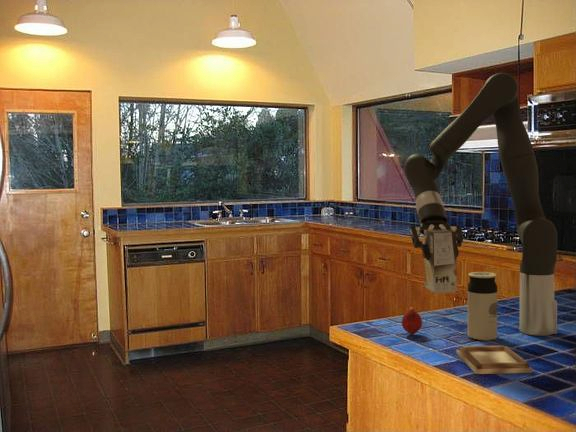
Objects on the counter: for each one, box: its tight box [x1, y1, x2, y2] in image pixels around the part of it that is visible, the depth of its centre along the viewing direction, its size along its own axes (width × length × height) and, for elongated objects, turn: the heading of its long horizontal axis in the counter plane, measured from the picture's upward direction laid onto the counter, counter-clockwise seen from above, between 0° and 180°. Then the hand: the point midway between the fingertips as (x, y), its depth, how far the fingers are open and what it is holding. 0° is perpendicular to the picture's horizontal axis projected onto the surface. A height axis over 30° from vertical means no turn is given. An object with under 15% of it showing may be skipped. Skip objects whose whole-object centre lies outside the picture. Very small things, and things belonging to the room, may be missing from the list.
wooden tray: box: [456, 344, 533, 375], centre depth 150 cm, size 13×16×2 cm
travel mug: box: [467, 271, 498, 341], centre depth 172 cm, size 8×8×18 cm
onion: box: [401, 306, 423, 336], centre depth 176 cm, size 6×6×8 cm
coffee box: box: [423, 229, 458, 294], centre depth 164 cm, size 9×6×16 cm
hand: (441, 257), depth 162 cm, fingers closed on coffee box, 6 cm apart
